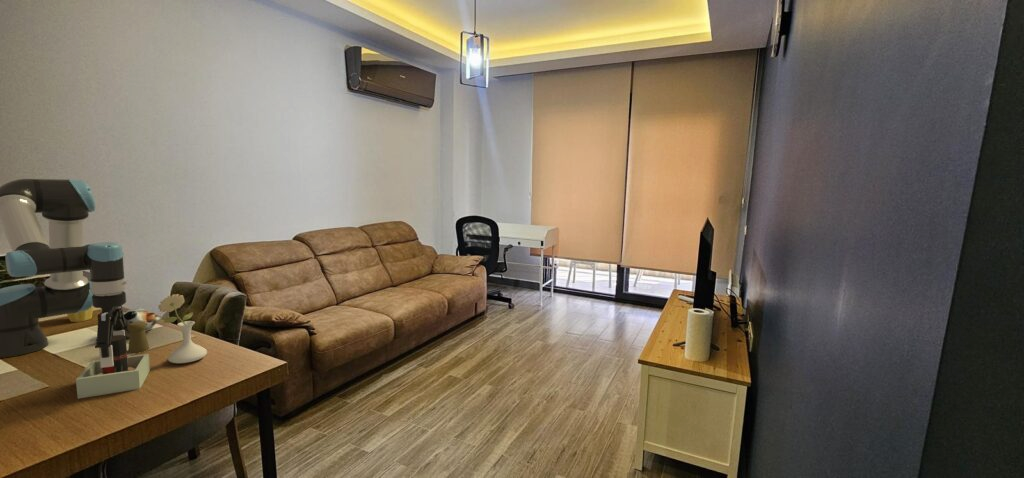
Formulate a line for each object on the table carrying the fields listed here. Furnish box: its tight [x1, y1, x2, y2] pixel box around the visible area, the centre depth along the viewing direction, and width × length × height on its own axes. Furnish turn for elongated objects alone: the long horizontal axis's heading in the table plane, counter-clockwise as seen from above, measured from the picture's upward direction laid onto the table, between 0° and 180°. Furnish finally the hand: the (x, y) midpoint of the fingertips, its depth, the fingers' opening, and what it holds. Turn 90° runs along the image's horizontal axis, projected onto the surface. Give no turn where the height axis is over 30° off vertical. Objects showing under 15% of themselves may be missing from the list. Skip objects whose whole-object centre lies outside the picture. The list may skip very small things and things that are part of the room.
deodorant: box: [102, 335, 128, 375], centre depth 132 cm, size 6×6×15 cm
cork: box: [127, 321, 150, 354], centre depth 157 cm, size 6×6×11 cm
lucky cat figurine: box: [112, 308, 162, 339], centre depth 171 cm, size 15×12×14 cm
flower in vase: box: [157, 293, 208, 364], centre depth 150 cm, size 13×11×25 cm
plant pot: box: [66, 305, 94, 323], centre depth 184 cm, size 10×10×10 cm
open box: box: [75, 353, 151, 400], centre depth 132 cm, size 14×14×6 cm
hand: (114, 357), depth 132 cm, fingers open, 13 cm apart
